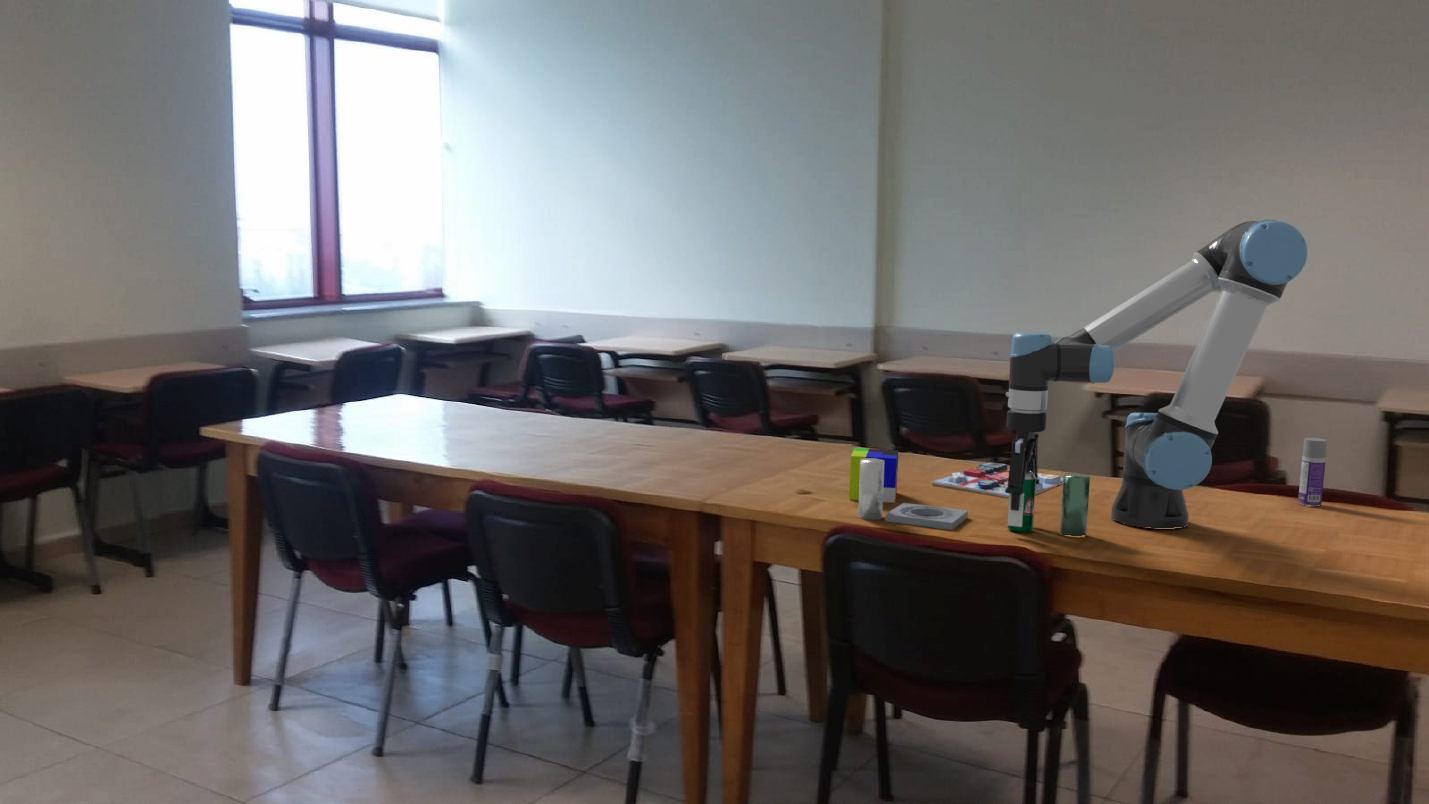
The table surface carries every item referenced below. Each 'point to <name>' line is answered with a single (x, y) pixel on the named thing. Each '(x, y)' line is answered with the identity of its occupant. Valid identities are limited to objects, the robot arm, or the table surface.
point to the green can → (1074, 504)
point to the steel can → (871, 489)
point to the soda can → (1027, 504)
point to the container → (1312, 471)
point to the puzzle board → (991, 480)
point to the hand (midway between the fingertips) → (1020, 520)
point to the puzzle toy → (889, 471)
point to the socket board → (911, 513)
